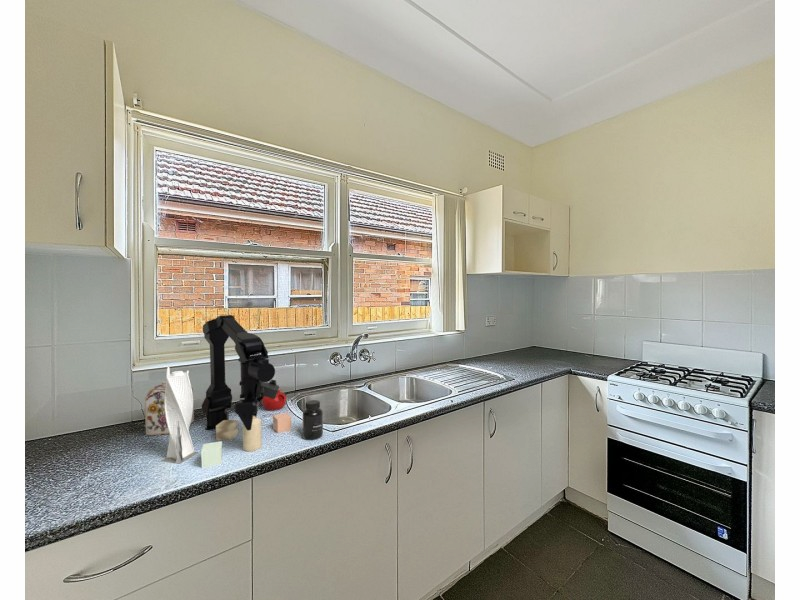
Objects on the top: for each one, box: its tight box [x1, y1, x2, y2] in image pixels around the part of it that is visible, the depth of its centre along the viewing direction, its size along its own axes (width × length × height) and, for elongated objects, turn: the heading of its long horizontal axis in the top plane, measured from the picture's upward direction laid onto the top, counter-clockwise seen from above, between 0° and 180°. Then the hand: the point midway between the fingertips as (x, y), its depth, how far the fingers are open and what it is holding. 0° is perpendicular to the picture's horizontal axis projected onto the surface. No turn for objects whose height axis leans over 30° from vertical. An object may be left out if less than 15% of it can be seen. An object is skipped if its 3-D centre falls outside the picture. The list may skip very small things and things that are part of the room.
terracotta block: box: [272, 412, 293, 434], centre depth 128 cm, size 5×5×5 cm
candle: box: [242, 416, 263, 452], centre depth 113 cm, size 6×6×10 cm
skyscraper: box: [160, 366, 199, 465], centre depth 108 cm, size 8×8×28 cm
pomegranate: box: [261, 388, 287, 411], centre depth 150 cm, size 10×10×9 cm
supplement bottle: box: [302, 399, 324, 441], centre depth 121 cm, size 7×7×12 cm
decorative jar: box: [144, 379, 195, 436], centre depth 129 cm, size 12×12×18 cm
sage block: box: [200, 440, 223, 468], centre depth 104 cm, size 5×5×5 cm
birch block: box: [215, 419, 239, 441], centre depth 122 cm, size 5×5×5 cm
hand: (251, 424), depth 113 cm, fingers open, 9 cm apart
